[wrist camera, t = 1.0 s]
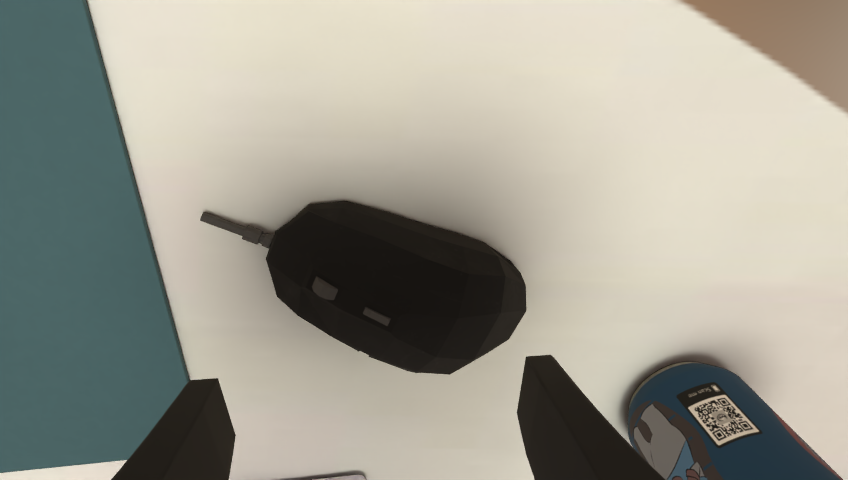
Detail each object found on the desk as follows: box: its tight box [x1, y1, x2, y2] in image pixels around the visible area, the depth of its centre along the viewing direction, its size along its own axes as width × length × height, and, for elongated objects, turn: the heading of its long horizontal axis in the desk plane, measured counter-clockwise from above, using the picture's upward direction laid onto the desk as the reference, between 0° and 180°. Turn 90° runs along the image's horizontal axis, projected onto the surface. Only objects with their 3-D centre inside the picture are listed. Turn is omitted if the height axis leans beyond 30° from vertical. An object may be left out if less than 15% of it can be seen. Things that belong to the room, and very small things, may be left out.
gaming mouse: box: [200, 201, 526, 374], centre depth 21 cm, size 6×15×4 cm, turn 66°
